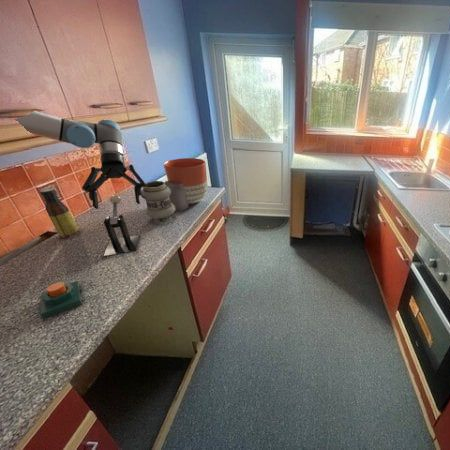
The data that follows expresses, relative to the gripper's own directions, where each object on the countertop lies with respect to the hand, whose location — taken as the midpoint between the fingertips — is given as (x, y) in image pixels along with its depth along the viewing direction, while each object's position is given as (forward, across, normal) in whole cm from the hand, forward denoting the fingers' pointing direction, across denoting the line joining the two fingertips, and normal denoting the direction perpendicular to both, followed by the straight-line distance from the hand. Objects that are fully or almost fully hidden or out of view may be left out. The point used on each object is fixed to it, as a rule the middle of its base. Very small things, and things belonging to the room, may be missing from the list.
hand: (117, 205), depth 95 cm
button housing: (+34, +12, +14) cm, 38 cm away
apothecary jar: (+2, -13, -18) cm, 22 cm away
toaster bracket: (+16, 0, -4) cm, 17 cm away
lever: (+3, 0, 0) cm, 3 cm away
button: (+31, +12, +16) cm, 37 cm away
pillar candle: (-7, -20, -27) cm, 34 cm away
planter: (-11, -26, -32) cm, 42 cm away
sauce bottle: (+4, +21, -17) cm, 28 cm away
